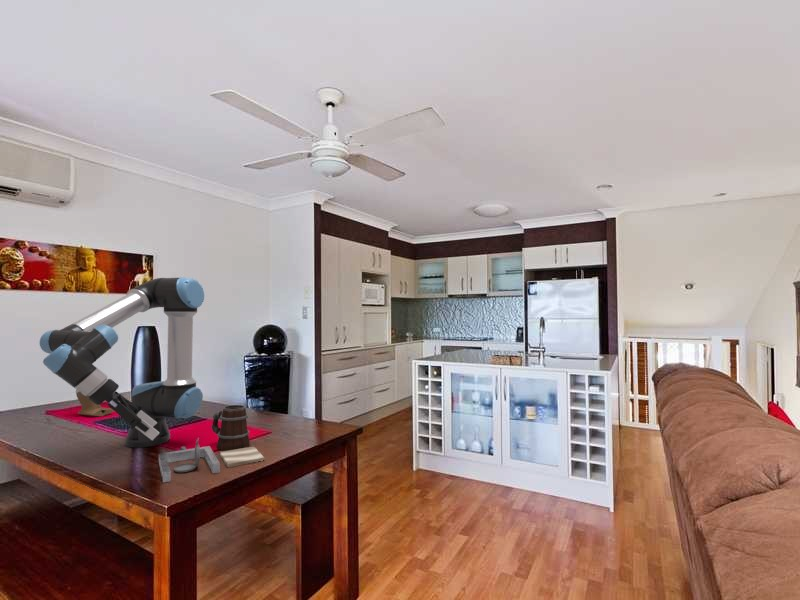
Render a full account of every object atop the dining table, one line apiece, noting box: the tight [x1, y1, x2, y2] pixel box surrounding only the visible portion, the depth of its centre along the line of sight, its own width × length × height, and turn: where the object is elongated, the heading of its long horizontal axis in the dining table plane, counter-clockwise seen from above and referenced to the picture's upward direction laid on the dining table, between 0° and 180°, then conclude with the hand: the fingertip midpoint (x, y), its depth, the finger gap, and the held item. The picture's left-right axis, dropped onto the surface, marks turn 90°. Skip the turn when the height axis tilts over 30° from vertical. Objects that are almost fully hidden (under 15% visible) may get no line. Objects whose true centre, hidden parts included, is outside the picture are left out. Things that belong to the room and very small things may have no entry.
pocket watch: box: [173, 437, 201, 473], centre depth 139 cm, size 8×8×10 cm
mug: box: [211, 404, 250, 452], centre depth 164 cm, size 16×12×15 cm
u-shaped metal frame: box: [158, 445, 221, 484], centre depth 144 cm, size 26×16×3 cm, turn 33°
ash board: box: [219, 446, 265, 468], centre depth 150 cm, size 14×12×1 cm
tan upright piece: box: [75, 389, 115, 417], centre depth 208 cm, size 15×12×15 cm
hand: (154, 431), depth 134 cm, fingers open, 13 cm apart
